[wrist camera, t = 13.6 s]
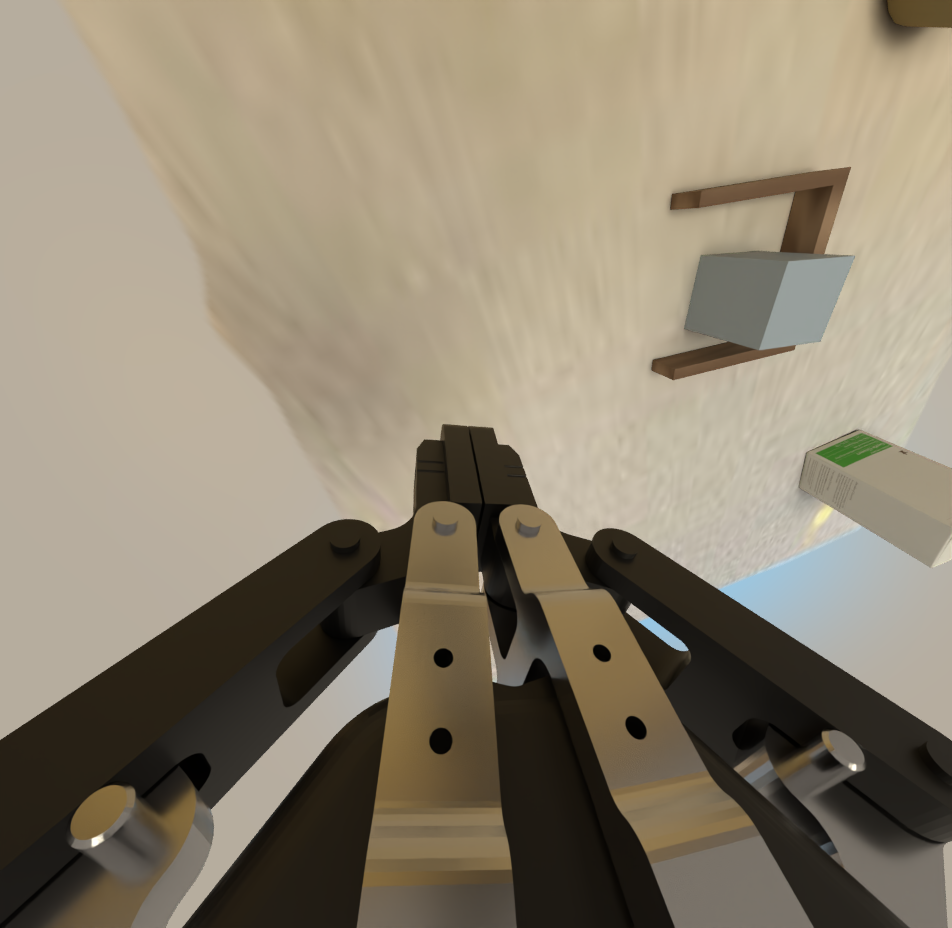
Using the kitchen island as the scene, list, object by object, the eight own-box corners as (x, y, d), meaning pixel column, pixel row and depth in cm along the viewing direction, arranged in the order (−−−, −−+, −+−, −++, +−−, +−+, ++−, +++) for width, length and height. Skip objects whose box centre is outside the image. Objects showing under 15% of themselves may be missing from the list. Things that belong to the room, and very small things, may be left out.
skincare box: (858, 428, 51) (1031, 494, 38) (846, 467, 55) (1000, 540, 42) (803, 452, 51) (960, 529, 38) (794, 491, 54) (935, 572, 41)
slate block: (700, 255, 33) (788, 261, 27) (757, 251, 35) (855, 255, 28) (683, 328, 36) (759, 350, 30) (737, 322, 38) (820, 341, 31)
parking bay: (672, 194, 30) (701, 190, 28) (812, 171, 32) (851, 166, 30) (651, 370, 38) (673, 380, 35) (766, 342, 40) (794, 349, 37)
